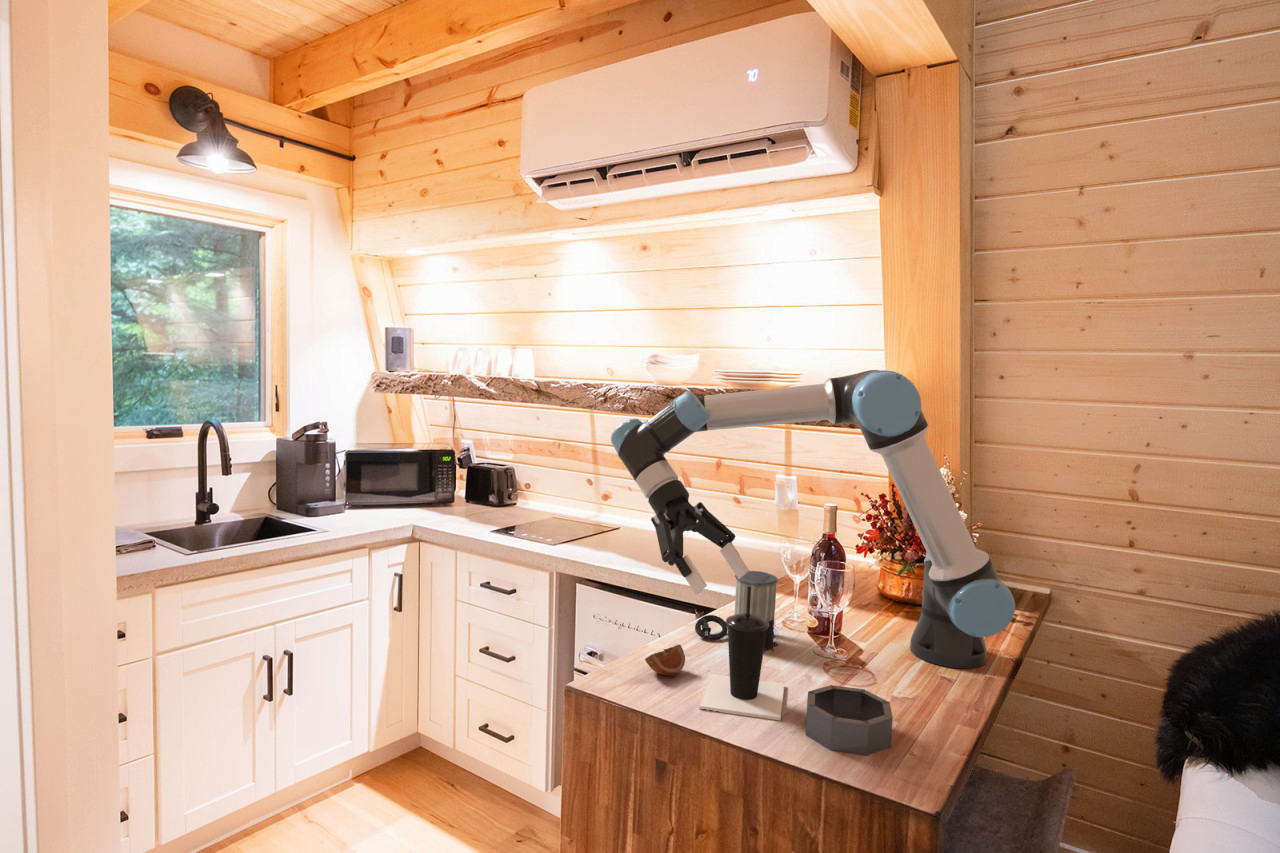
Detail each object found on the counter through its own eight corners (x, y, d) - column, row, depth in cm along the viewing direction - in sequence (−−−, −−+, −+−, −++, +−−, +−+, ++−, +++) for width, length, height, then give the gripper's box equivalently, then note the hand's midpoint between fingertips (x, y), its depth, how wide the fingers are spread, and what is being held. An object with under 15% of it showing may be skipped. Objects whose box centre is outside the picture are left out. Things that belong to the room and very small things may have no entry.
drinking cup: (717, 698, 139) (722, 589, 137) (728, 682, 146) (734, 578, 144) (759, 707, 136) (765, 596, 134) (769, 689, 143) (774, 584, 141)
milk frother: (781, 650, 164) (785, 582, 162) (712, 655, 160) (715, 585, 158) (754, 626, 177) (757, 563, 176) (689, 630, 173) (692, 566, 172)
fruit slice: (660, 685, 145) (661, 659, 144) (636, 673, 150) (636, 648, 149) (691, 673, 150) (692, 648, 150) (666, 662, 155) (667, 638, 155)
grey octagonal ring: (885, 720, 134) (887, 692, 133) (892, 759, 121) (895, 728, 120) (806, 709, 137) (808, 682, 136) (805, 746, 124) (806, 716, 123)
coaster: (784, 686, 146) (784, 683, 146) (780, 720, 132) (780, 717, 132) (710, 676, 149) (710, 673, 149) (699, 709, 135) (699, 705, 135)
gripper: (690, 493, 162) (747, 579, 154) (608, 509, 143) (668, 608, 135) (712, 471, 158) (772, 558, 150) (631, 485, 139) (694, 585, 131)
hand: (723, 582), depth 142 cm, fingers open, 13 cm apart
